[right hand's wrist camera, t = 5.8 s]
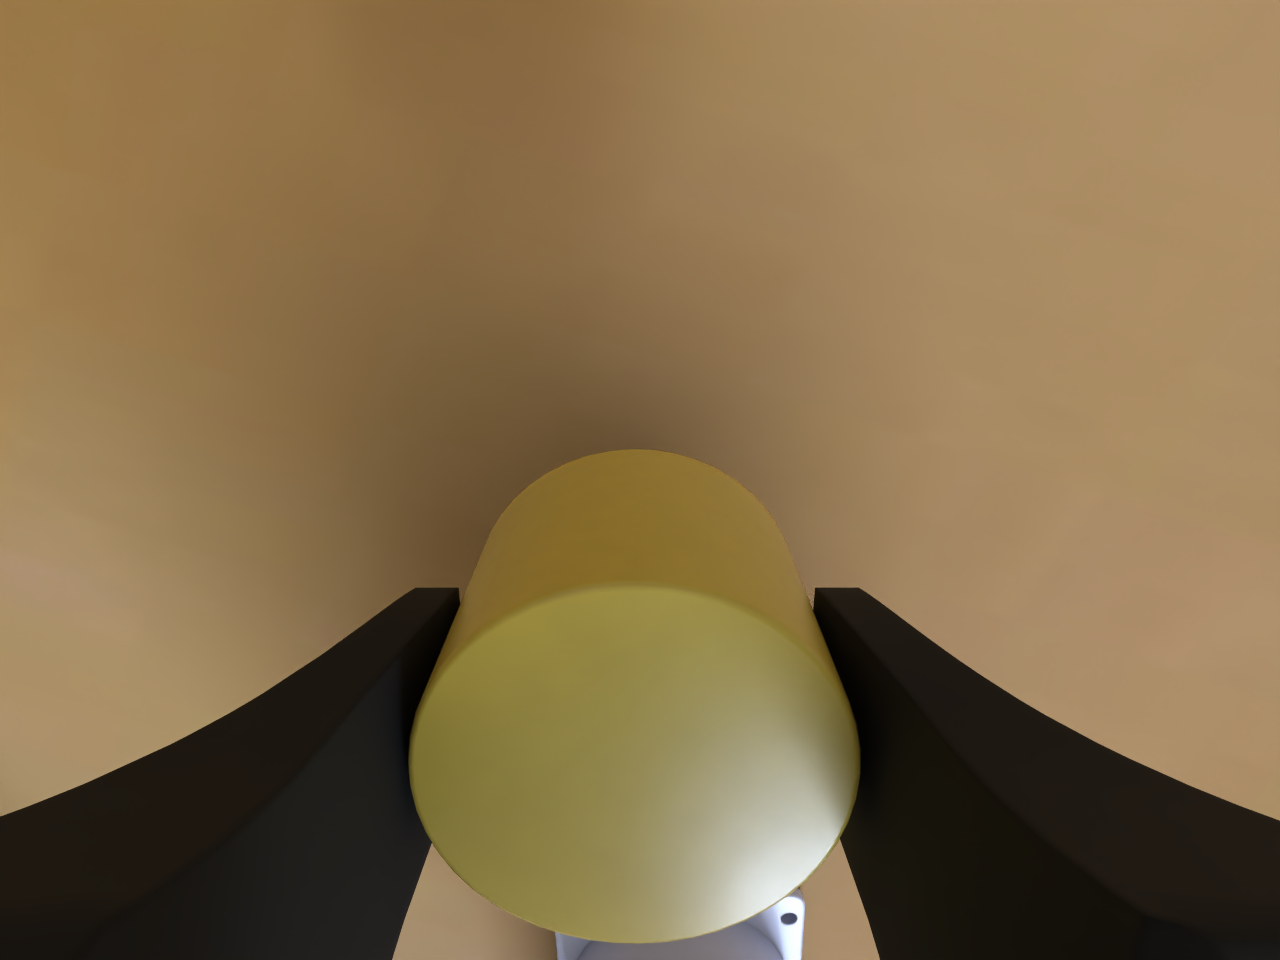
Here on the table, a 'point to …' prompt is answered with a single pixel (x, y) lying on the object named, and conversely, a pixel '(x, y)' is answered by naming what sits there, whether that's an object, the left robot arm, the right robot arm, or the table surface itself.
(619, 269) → the table surface
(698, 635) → the yellow cylinder
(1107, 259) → the table surface
